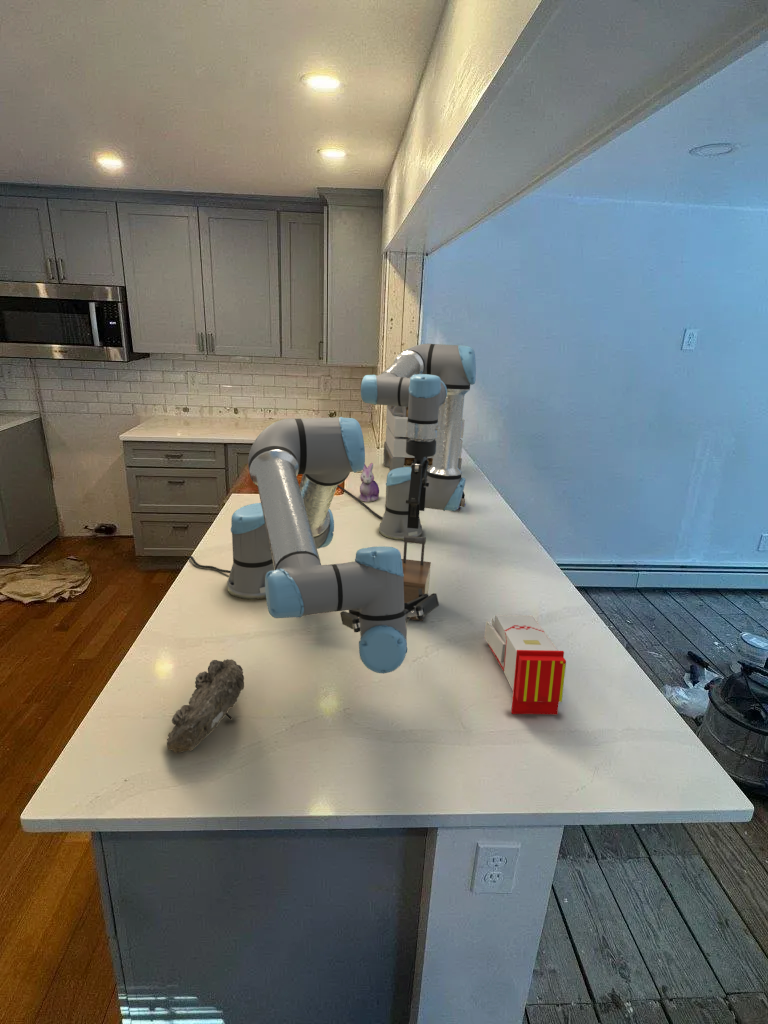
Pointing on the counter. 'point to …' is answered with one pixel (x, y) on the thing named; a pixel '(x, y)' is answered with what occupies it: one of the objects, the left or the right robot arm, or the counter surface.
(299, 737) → the counter surface
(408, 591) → the brown hollow box
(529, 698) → the toy
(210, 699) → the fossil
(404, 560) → the lid
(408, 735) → the counter surface
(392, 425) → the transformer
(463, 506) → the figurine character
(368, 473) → the figurine
